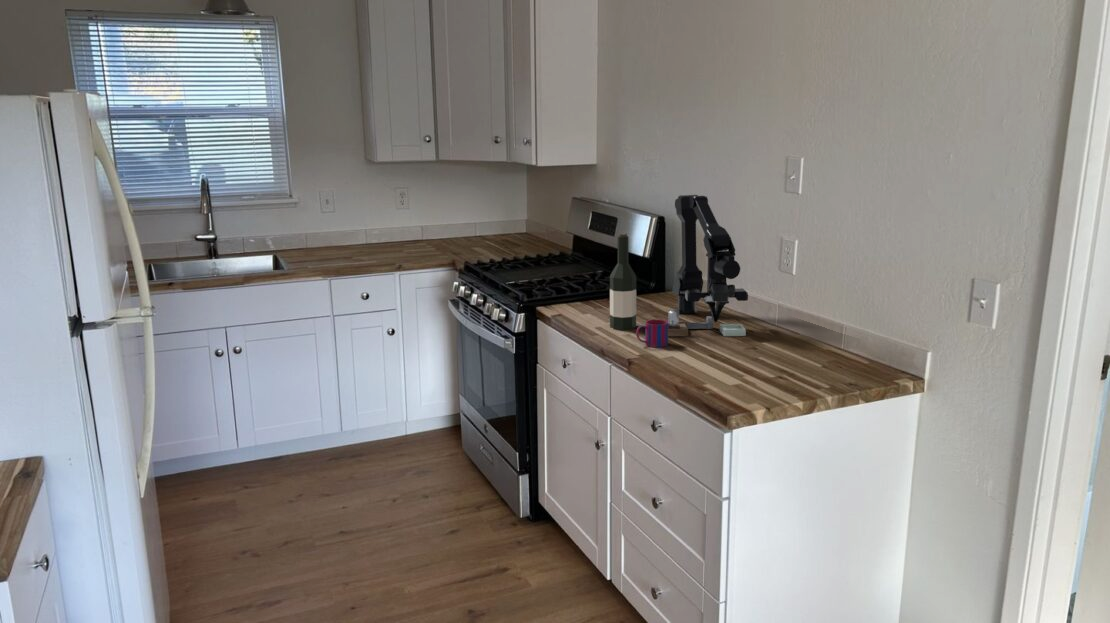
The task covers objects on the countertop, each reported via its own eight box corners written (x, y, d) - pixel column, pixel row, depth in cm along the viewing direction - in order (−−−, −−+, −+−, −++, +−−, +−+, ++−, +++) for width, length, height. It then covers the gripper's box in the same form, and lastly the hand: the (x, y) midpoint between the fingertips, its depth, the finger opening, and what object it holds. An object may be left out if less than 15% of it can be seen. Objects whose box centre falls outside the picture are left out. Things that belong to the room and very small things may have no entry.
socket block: (657, 327, 260) (657, 321, 259) (683, 326, 260) (683, 320, 259) (661, 336, 249) (661, 330, 249) (688, 336, 249) (688, 329, 249)
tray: (719, 330, 254) (719, 324, 254) (740, 330, 254) (741, 323, 254) (723, 336, 248) (723, 329, 248) (745, 335, 248) (745, 329, 247)
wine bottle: (636, 323, 265) (636, 231, 258) (636, 330, 257) (636, 235, 250) (610, 323, 265) (610, 232, 258) (609, 330, 257) (609, 235, 250)
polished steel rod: (667, 332, 254) (667, 310, 252) (677, 331, 254) (678, 310, 252) (668, 334, 251) (669, 312, 249) (679, 334, 251) (679, 312, 249)
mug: (671, 346, 239) (672, 323, 237) (639, 349, 236) (639, 326, 235) (663, 340, 245) (663, 318, 243) (631, 343, 242) (631, 321, 241)
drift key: (674, 327, 259) (674, 316, 258) (711, 326, 258) (711, 316, 258) (675, 329, 256) (676, 319, 255) (712, 329, 256) (713, 318, 255)
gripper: (690, 278, 245) (689, 328, 249) (752, 277, 245) (751, 327, 249) (685, 271, 256) (684, 319, 260) (744, 270, 256) (743, 318, 260)
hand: (715, 321), depth 257 cm, fingers closed
